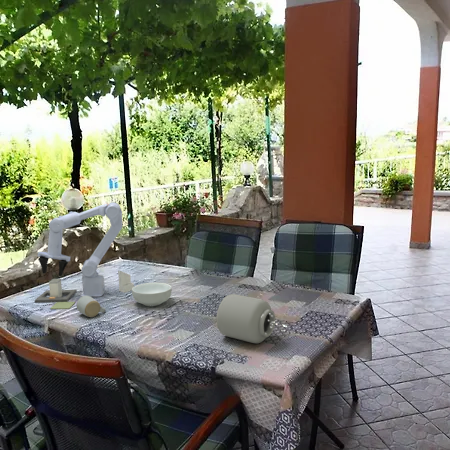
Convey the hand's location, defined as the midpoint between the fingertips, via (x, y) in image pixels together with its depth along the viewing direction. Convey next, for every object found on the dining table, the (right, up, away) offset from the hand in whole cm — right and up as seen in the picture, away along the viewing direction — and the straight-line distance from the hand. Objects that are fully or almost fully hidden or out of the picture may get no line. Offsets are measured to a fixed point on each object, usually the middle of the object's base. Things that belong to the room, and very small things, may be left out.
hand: (52, 274), depth 207 cm
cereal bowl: (+46, -12, -9) cm, 49 cm away
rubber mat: (+8, -12, -10) cm, 18 cm away
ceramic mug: (+24, -14, -20) cm, 34 cm away
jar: (+89, -17, -48) cm, 102 cm away
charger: (+1, -11, +2) cm, 11 cm away
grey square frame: (+1, -11, +2) cm, 11 cm away
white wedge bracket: (+31, -9, +10) cm, 34 cm away
